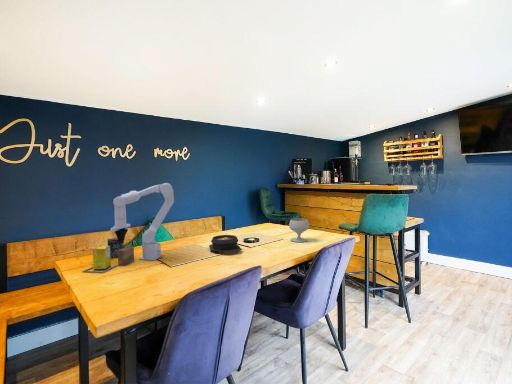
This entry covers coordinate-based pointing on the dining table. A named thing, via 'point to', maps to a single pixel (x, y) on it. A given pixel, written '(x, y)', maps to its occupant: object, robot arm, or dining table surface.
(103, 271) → the stand outline
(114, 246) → the box
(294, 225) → the chalice
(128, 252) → the shelf blocks
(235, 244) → the black round squat piece
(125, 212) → the robot arm
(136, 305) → the dining table surface
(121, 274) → the dining table surface
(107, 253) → the supplement box
